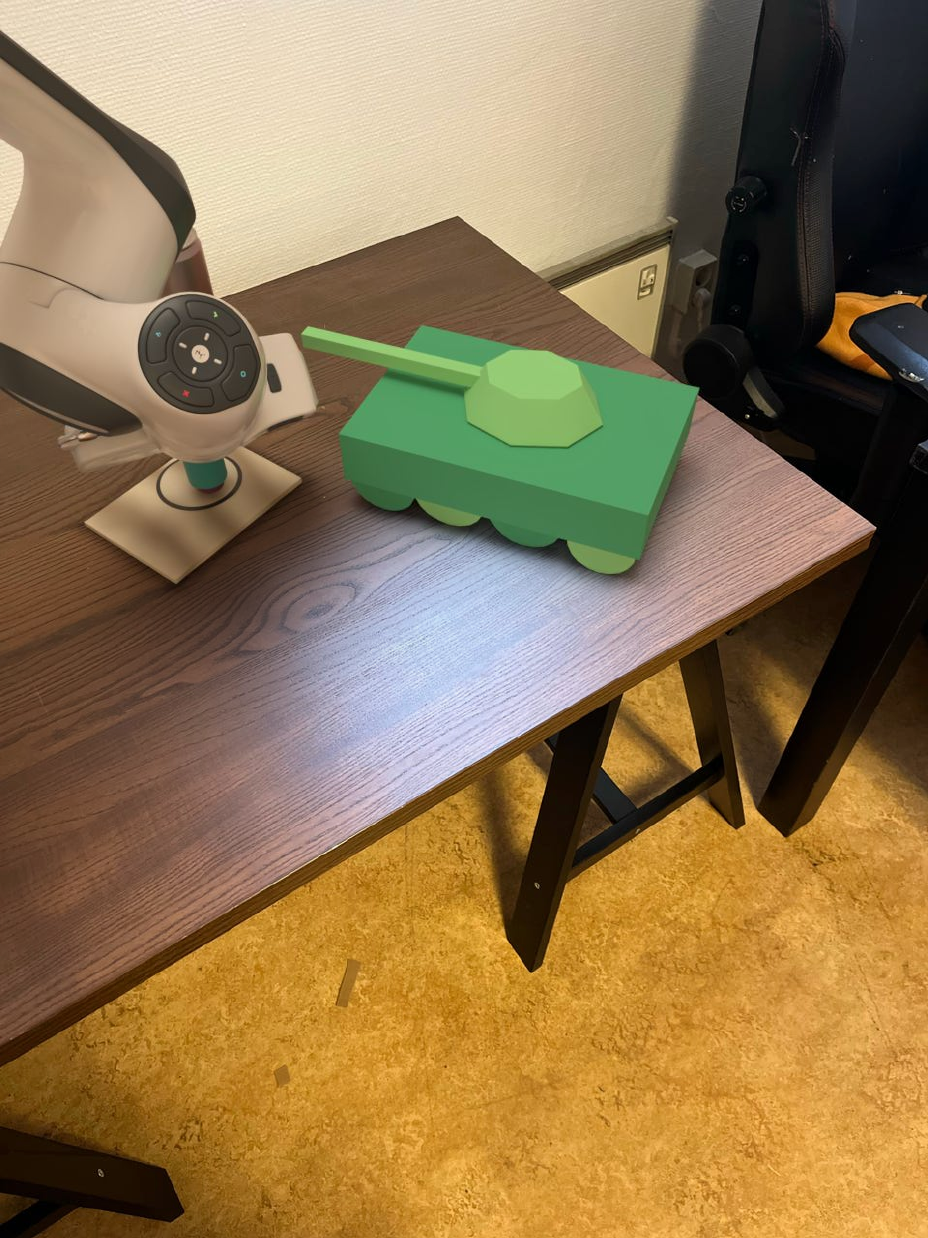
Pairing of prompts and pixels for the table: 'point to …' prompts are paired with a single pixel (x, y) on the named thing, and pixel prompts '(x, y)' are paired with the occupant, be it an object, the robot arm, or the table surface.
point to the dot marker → (206, 475)
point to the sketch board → (190, 512)
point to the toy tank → (515, 441)
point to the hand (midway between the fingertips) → (194, 429)
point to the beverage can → (189, 270)
